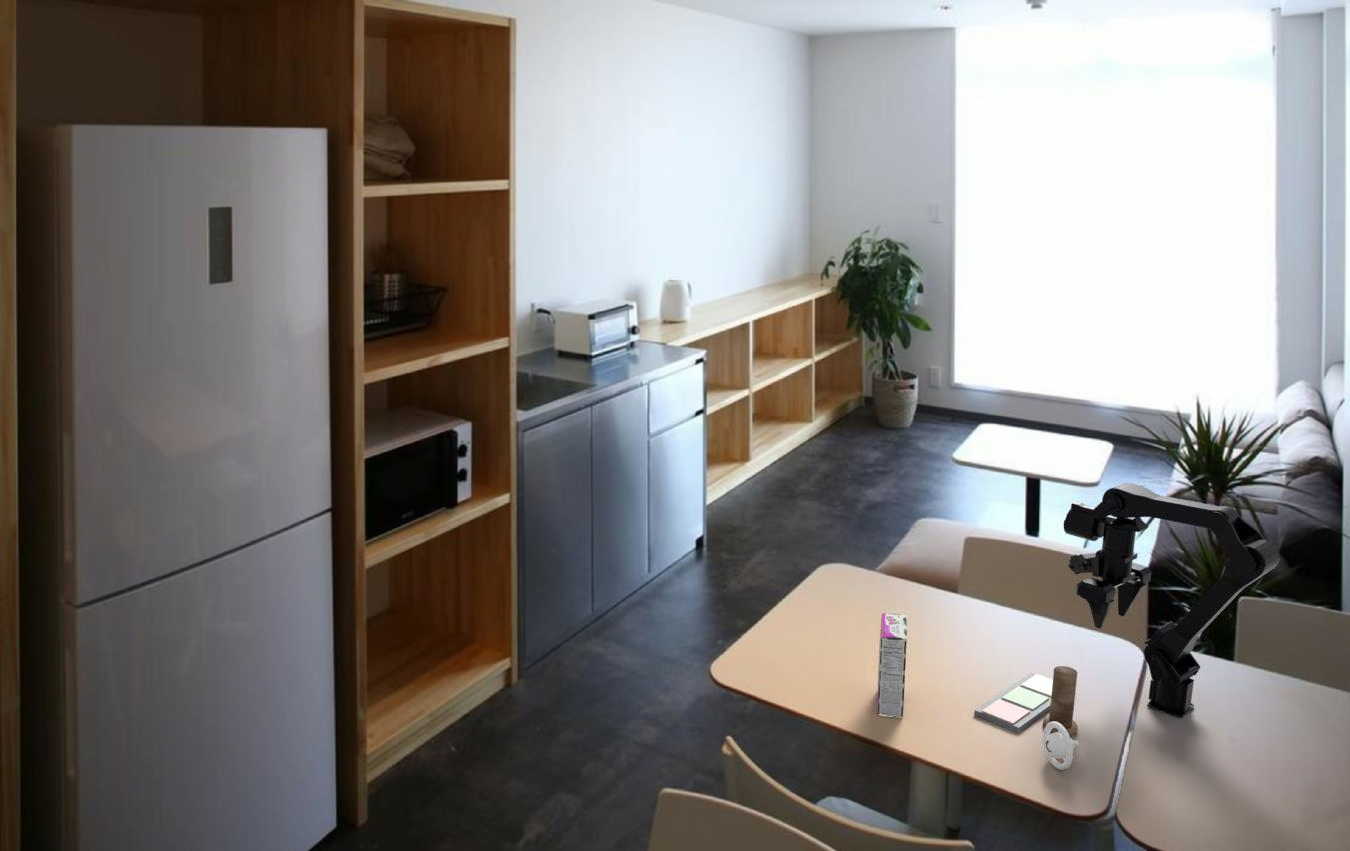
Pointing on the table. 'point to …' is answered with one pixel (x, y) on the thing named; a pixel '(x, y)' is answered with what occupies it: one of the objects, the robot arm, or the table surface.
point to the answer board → (1019, 703)
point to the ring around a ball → (1058, 745)
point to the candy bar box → (892, 664)
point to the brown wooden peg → (1063, 699)
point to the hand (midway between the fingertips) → (1109, 621)
